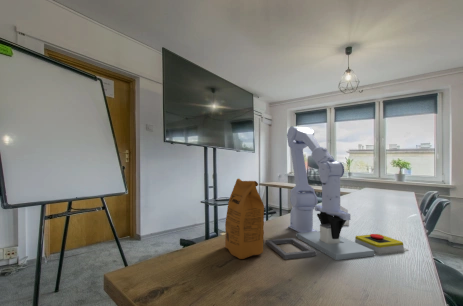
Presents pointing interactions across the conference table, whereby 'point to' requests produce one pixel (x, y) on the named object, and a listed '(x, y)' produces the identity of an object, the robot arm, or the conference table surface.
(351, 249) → the port plate
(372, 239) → the emergency button
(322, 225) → the grey block
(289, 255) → the grey square frame
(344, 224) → the white angled block
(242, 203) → the coffee package
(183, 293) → the conference table surface
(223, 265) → the conference table surface
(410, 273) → the conference table surface
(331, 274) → the conference table surface
